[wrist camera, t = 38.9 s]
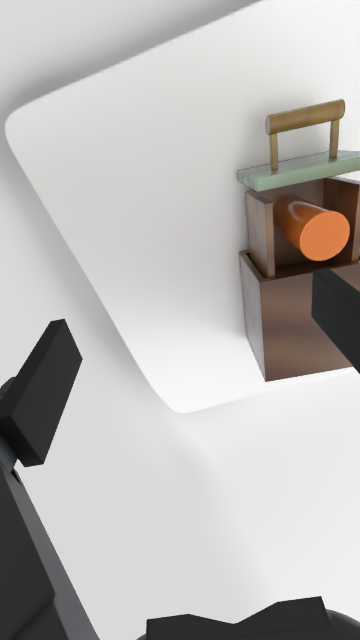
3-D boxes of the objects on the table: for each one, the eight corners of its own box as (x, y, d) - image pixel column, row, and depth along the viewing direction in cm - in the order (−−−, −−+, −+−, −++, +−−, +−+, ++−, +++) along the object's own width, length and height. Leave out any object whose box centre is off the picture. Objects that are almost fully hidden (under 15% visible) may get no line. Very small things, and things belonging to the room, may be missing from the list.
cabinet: (238, 252, 42) (259, 282, 33) (330, 233, 41) (377, 259, 32) (246, 337, 50) (265, 382, 40) (324, 323, 49) (361, 365, 40)
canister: (269, 238, 39) (299, 265, 31) (268, 199, 37) (300, 217, 28) (307, 230, 39) (347, 255, 30) (307, 191, 37) (352, 206, 28)
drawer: (233, 123, 34) (253, 118, 26) (336, 100, 33) (388, 88, 26) (246, 275, 43) (263, 303, 35) (327, 259, 42) (363, 284, 35)
